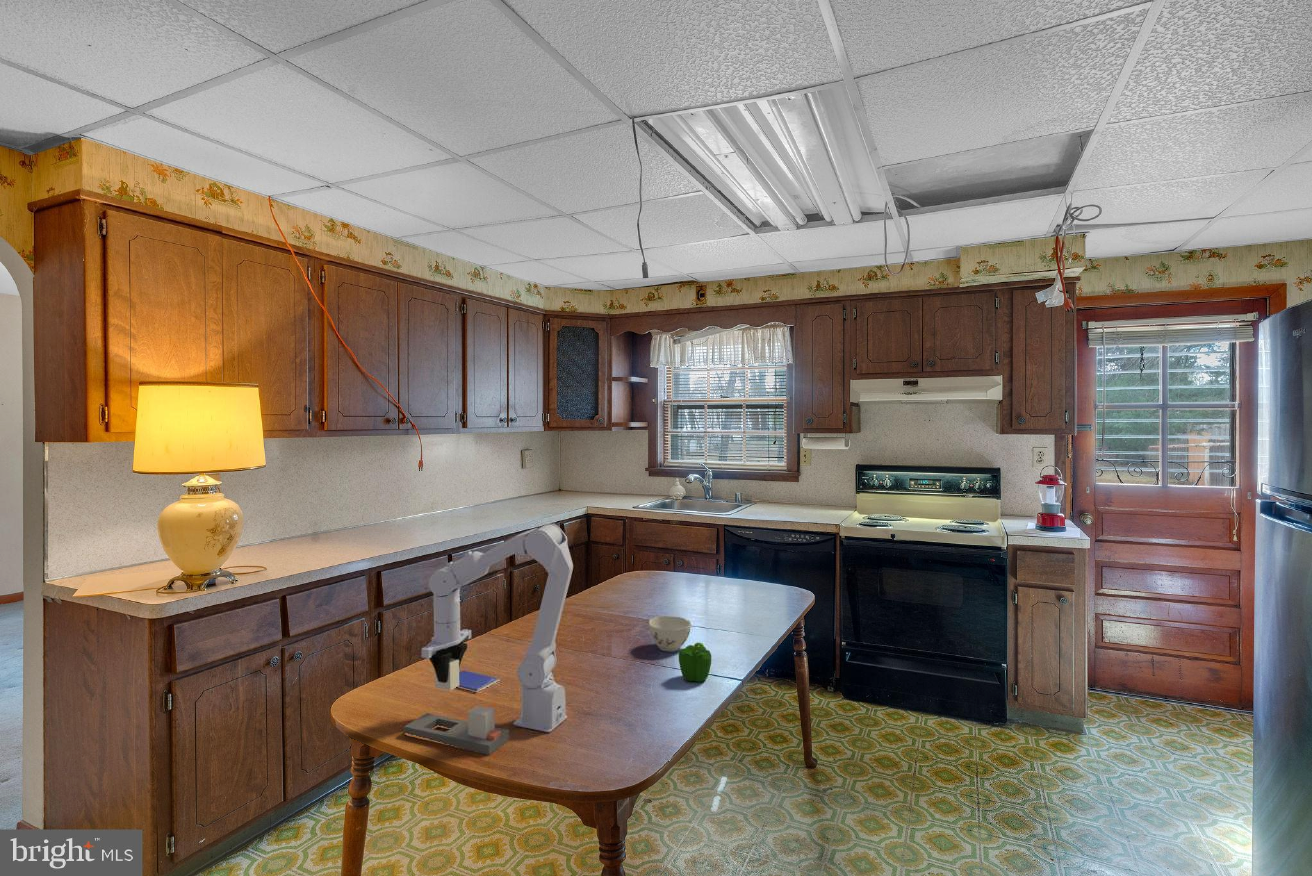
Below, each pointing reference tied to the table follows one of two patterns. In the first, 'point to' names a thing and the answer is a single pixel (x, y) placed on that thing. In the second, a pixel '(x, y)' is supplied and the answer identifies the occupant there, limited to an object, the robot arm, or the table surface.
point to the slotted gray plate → (462, 730)
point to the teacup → (669, 632)
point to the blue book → (475, 680)
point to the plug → (450, 676)
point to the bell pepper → (695, 662)
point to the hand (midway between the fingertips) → (447, 678)
